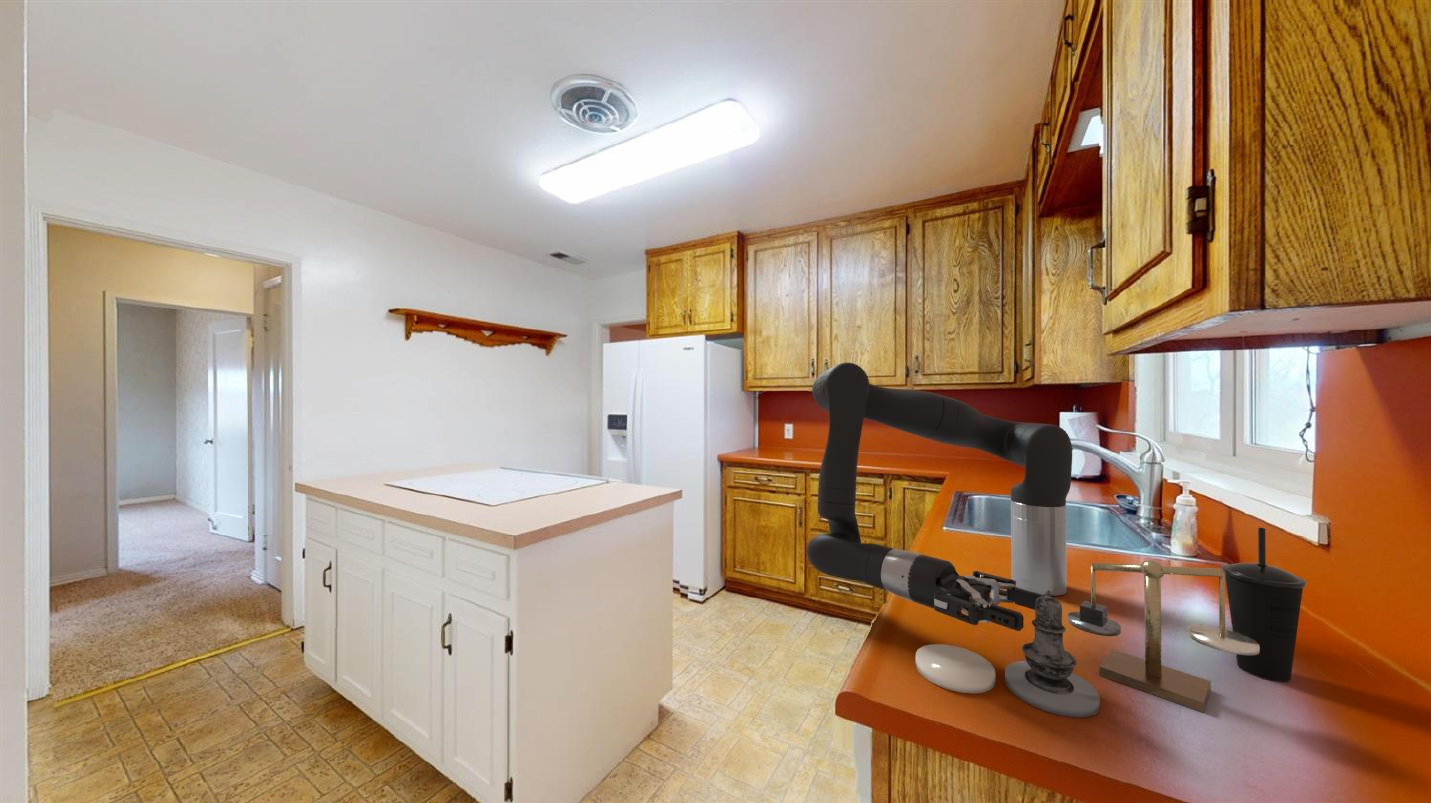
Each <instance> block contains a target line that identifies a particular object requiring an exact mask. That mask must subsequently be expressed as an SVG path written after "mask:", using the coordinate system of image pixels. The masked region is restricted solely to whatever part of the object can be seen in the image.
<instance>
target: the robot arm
mask: <svg viewBox="0 0 1431 803" xmlns="http://www.w3.org/2000/svg"><path fill="white" fill-rule="evenodd" d="M811 390H812V391H811V392H812V396H813V400H814V401H815V402H816V404H817V405H818V406H819V407H820V408H821V409H822V410H824V411H826V412H828V416H829V417H828V418H829V421H828V422H829V423H828V424H829V426H828V435H827V441H826V445H825V449H824V452H823V453H824V454H823V457H822V460H821V465H820V470H819V477H818V487H817V488H818V489H817V513H818V515H819V516H820V517H821V518H822V519H825V520H827V522H828V526H829V527H828V528H829V533H828V532H827V533H819V534H817V535H815V536H813V537H812V538H811V539H810V540H809V541H808V544H807V548H806V556H807V558H808V561H809V563H810V564H811V566H812V567H813V568H814V569H815V570H817V571H818V572H820V573H821V574H824V575H826V576H830V577H835V578H838V579H840V578H841V579H845V580H852V581H857V582H861V583H864V584H866V585H869V586H871V587H874V588H877V589H880V590H883V591H887V592H889V593H891V594H893V595H894V596H897V597H899V598H901V599H905V600H907V601H911V602H914V603H915V604H919V605H922V606H925V607H927V608H929V609H934V611H935V612H937V613H940V614H943V615H946V616H947V617H950V618H952V619H956V620H959V621H962V622H964V623H966V624H969V625H972V626H978V625H979V622H980V623H985V624H989V623H993V624H996V625H999V626H1001V627H1005V628H1008V629H1011V630H1014V631H1017V632H1020V631H1022V630H1023V629H1024V626H1025V625H1024V622H1025V621H1024V614H1023V613H1022V612H1020V611H1016V610H1013V609H1011V608H1007V607H1003V606H1000V605H999V604H1000V603H1008V604H1014V605H1016V606H1020V607H1024V608H1027V609H1030V610H1032V611H1033V610H1034V611H1035V601H1036V599H1037V598H1038V597H1041V596H1045V595H1046V592H1047V591H1048V590H1049V591H1050V593H1051V594H1052V595H1051V597H1054V596H1055V597H1056V596H1062V595H1066V594H1067V590H1068V588H1067V587H1068V586H1067V585H1068V584H1067V571H1068V570H1067V508H1066V506H1067V500H1066V499H1067V496H1068V494H1069V492H1070V490H1071V485H1072V473H1073V472H1072V469H1073V468H1072V467H1073V445H1072V442H1071V438H1070V436H1069V434H1068V433H1067V431H1066V430H1065V429H1064V428H1062V427H1061V426H1058V425H1055V424H1051V423H1039V422H1038V423H1034V422H1019V421H1012V420H1006V419H1001V418H996V417H993V416H989V415H986V414H984V413H982V412H980V411H979V410H977V409H976V408H974V407H972V406H971V405H969V404H967V403H966V402H963V401H961V400H957V399H955V398H953V397H949V396H945V395H942V394H939V393H935V392H930V391H925V390H924V391H923V390H915V389H904V388H903V389H902V388H890V387H885V386H878V385H875V384H872V383H870V379H869V376H868V374H867V373H866V371H865V370H864V369H863V368H862V367H861V366H859V364H855V363H852V362H840V363H838V364H836V365H834V366H831V367H830V368H828V369H826V370H825V371H823V372H822V373H821V374H819V375H818V377H817V378H815V380H814V381H813V383H812V388H811ZM864 419H865V420H870V421H873V422H877V423H880V424H883V425H885V426H888V427H891V428H894V429H897V430H899V431H902V432H906V433H908V434H911V435H915V436H918V437H920V438H923V439H929V440H930V441H931V440H932V441H935V442H938V443H942V444H946V445H952V446H956V447H964V448H969V449H977V450H980V451H982V452H985V453H988V454H991V455H994V456H996V457H998V458H1001V459H1003V460H1006V461H1007V462H1009V463H1012V464H1015V465H1017V466H1020V467H1025V470H1024V479H1023V480H1022V481H1021V482H1020V483H1017V484H1014V485H1012V487H1011V488H1010V532H1011V533H1010V537H1011V538H1010V542H1011V544H1010V547H1011V548H1010V549H1011V551H1010V552H1011V557H1010V558H1011V564H1010V566H1011V568H1010V570H1011V572H1010V575H1011V578H1006V577H1003V576H998V575H995V574H994V575H993V574H990V573H986V572H981V571H979V570H975V571H974V570H973V571H972V575H969V574H968V575H967V574H966V575H959V573H958V572H957V570H956V568H955V565H953V563H952V562H951V561H948V560H946V559H942V558H937V557H935V556H929V555H926V554H922V553H919V552H915V551H909V550H905V549H897V548H893V547H889V546H886V545H882V544H878V543H872V542H871V543H870V542H869V543H868V542H867V543H866V542H865V543H864V542H863V543H862V540H861V534H860V529H859V524H858V520H857V515H856V503H857V502H856V501H857V500H856V499H857V477H858V476H857V474H858V463H859V462H858V459H859V452H860V451H859V450H860V445H861V444H860V442H861V437H862V430H863V425H864ZM962 611H963V612H962Z"/></svg>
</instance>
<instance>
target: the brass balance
mask: <svg viewBox="0 0 1431 803" xmlns="http://www.w3.org/2000/svg"><path fill="white" fill-rule="evenodd" d="M1096 571H1098V572H1099V571H1100V572H1101V571H1102V572H1104V571H1105V572H1121V573H1136V574H1137V573H1140V574H1143V576H1144V578H1143V580H1144V581H1143V585H1144V590H1143V591H1144V596H1143V597H1144V658H1140V657H1137V656H1134V655H1132V654H1128V653H1124V652H1121V651H1118V650H1116V649H1111V650H1110V651H1109V653H1108V654H1107V655H1106V656H1105V658H1104V659H1103V661H1102V662H1101V663H1100V665H1099V666H1098V672H1099V673H1098V675H1099V676H1101V677H1104V678H1106V679H1109V680H1112V681H1115V682H1117V683H1120V684H1124V685H1126V686H1128V687H1132V688H1134V689H1136V690H1140V691H1142V692H1145V693H1148V694H1151V695H1153V696H1156V697H1158V698H1161V699H1164V700H1167V701H1170V702H1173V703H1175V704H1178V705H1181V706H1184V707H1187V708H1189V707H1190V709H1192V710H1195V711H1197V710H1198V712H1200V713H1204V712H1205V709H1206V705H1207V703H1208V699H1209V696H1210V694H1211V690H1212V689H1211V686H1212V685H1211V684H1212V683H1211V680H1210V679H1206V678H1203V677H1200V676H1197V675H1194V674H1190V673H1188V672H1184V671H1181V670H1178V669H1175V668H1172V667H1169V666H1165V665H1162V603H1161V602H1162V601H1161V600H1162V598H1161V597H1162V596H1161V594H1162V591H1161V590H1162V588H1161V579H1162V578H1163V577H1164V575H1176V576H1177V575H1179V576H1191V577H1192V576H1194V577H1195V576H1197V577H1212V578H1213V577H1214V578H1217V577H1218V621H1219V622H1218V626H1219V627H1217V626H1213V625H1207V624H1203V625H1202V624H1192V625H1189V626H1188V627H1187V636H1188V637H1189V638H1190V639H1192V640H1194V641H1195V642H1196V643H1198V644H1200V645H1203V646H1205V647H1208V648H1211V649H1214V650H1217V651H1220V652H1224V653H1228V654H1233V655H1236V654H1238V655H1257V654H1259V653H1260V645H1259V644H1258V643H1257V642H1256V641H1255V640H1253V639H1251V638H1249V637H1247V636H1245V635H1242V634H1239V633H1237V632H1234V631H1233V630H1230V629H1226V579H1225V573H1224V572H1223V571H1222V568H1220V567H1219V568H1216V567H1215V568H1214V567H1197V566H1195V567H1192V566H1191V567H1190V566H1175V565H1173V566H1172V565H1171V566H1170V565H1169V566H1167V565H1162V564H1161V563H1160V562H1158V561H1156V560H1152V559H1146V560H1144V561H1142V562H1141V563H1140V564H1125V563H1123V564H1122V563H1102V562H1101V563H1100V562H1092V563H1091V566H1090V601H1088V600H1083V601H1082V602H1081V603H1080V605H1079V611H1071V612H1069V613H1068V614H1067V622H1068V623H1069V624H1070V625H1071V626H1072V627H1074V628H1076V629H1078V630H1080V631H1083V632H1085V633H1088V634H1093V635H1096V636H1097V635H1098V636H1103V637H1115V636H1116V637H1117V636H1120V635H1121V634H1122V626H1121V625H1120V624H1119V623H1118V622H1117V621H1116V620H1114V619H1111V618H1109V617H1108V605H1103V604H1099V603H1098V602H1097V603H1096V599H1097V598H1096V597H1097V596H1096V590H1097V589H1096Z"/></svg>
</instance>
